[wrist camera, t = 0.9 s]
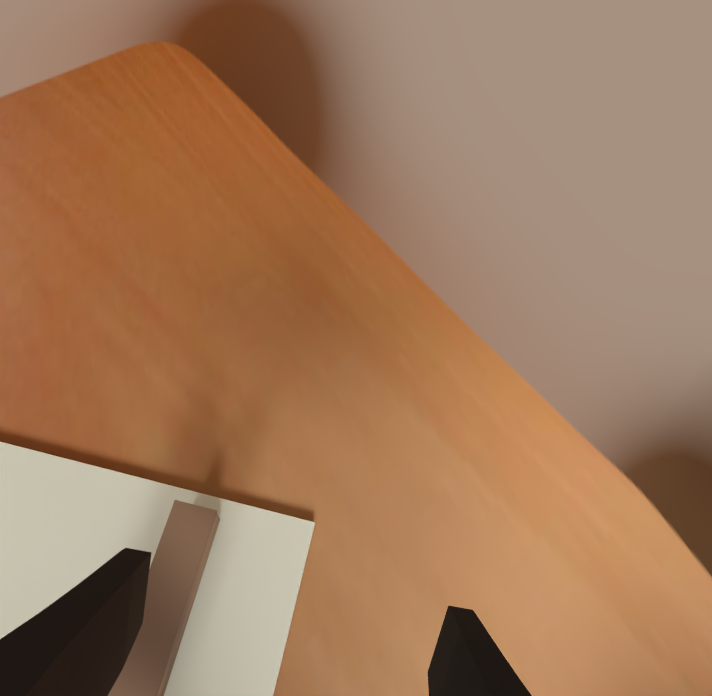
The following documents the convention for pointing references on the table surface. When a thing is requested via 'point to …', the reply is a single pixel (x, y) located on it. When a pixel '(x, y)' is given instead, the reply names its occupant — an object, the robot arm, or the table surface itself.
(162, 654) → the brown wooden block
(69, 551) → the board
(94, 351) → the table surface
